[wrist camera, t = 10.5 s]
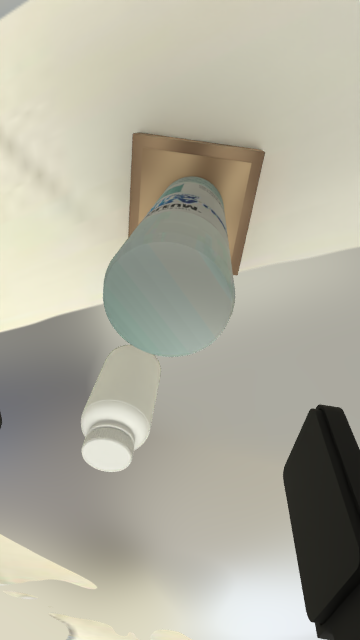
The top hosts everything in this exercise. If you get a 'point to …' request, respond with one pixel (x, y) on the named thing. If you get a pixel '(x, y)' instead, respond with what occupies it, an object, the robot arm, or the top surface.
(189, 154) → the square brown tray
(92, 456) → the pill bottle
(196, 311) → the pale blue bottle
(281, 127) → the top surface
